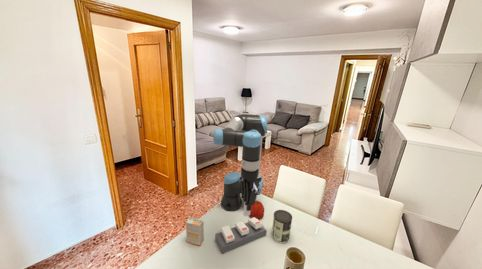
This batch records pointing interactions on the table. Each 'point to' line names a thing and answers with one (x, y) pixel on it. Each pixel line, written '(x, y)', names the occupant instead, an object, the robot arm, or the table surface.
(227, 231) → the rocker
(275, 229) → the coffee can
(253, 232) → the rocker switch panel
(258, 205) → the apple
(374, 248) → the table surface
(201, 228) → the supplement box
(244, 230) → the rocker
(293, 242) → the table surface
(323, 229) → the table surface
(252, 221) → the block
